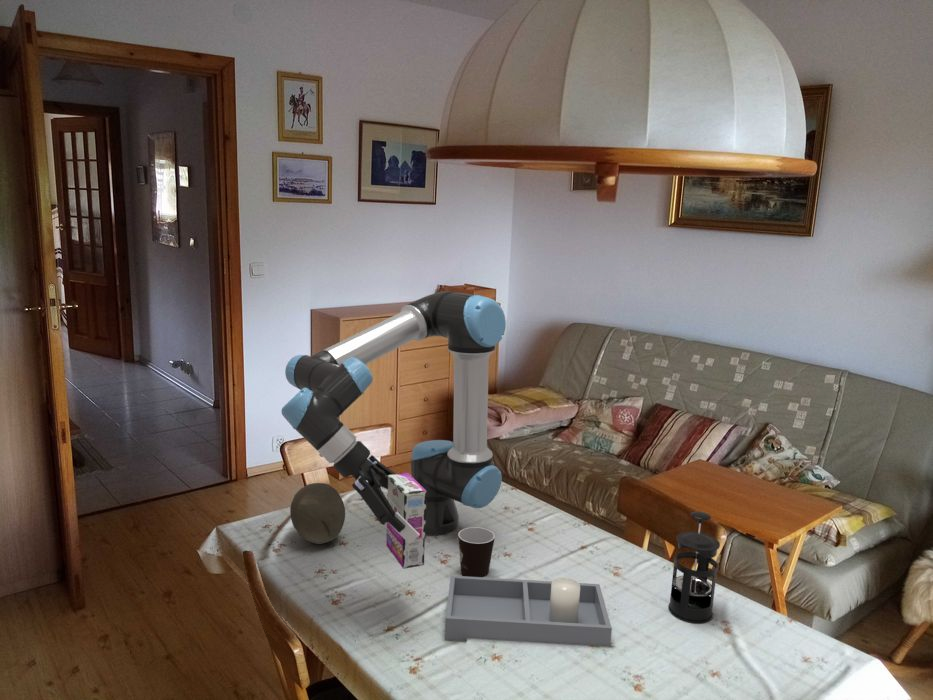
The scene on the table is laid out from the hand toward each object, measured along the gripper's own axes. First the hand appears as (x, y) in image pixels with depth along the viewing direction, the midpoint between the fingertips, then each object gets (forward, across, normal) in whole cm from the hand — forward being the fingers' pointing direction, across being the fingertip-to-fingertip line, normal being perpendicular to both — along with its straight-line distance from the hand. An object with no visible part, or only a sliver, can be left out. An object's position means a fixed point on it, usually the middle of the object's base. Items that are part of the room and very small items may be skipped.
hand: (418, 525), depth 148 cm
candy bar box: (+3, 0, -7) cm, 8 cm away
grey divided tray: (+31, +1, +2) cm, 31 cm away
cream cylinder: (+36, +1, +8) cm, 37 cm away
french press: (+57, -7, +28) cm, 64 cm away
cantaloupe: (-6, -30, -34) cm, 46 cm away
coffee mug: (+23, -19, -6) cm, 30 cm away
